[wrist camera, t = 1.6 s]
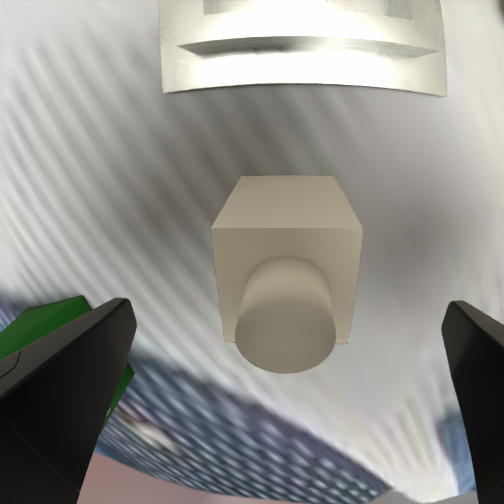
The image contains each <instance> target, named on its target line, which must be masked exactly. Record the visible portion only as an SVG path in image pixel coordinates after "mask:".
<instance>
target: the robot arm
mask: <svg viewBox="0 0 504 504" xmlns="http://www.w3.org/2000/svg"><path fill="white" fill-rule="evenodd" d="M136 328H137V322H136V318H135V315H134V312H133V308H132V305H131V302H130V300H129V299H127V298H114V299H112V300H110V301H108V302H106V303H104V304H103V305H101V306H99V307H97V308H95V309H93V310H91V311H89V312H88V313H86V314H84V315H82V316H80V317H78V318H77V319H75V320H73V321H71V322H69V323H67V324H65V325H64V326H62V327H60V328H58V329H56V330H55V331H53V332H51V333H49V334H47V335H45V336H44V337H42V338H40V339H38V340H36V341H35V342H33V343H31V344H29V345H27V346H26V347H24V348H23V349H20V350H18V351H17V352H15V353H13V354H11V355H9V356H7V357H6V358H4V359H2V360H0V504H77V500H78V497H79V494H80V490H81V487H82V484H83V481H84V478H85V475H86V472H87V469H88V466H89V463H90V460H91V457H92V454H93V451H94V449H95V446H96V443H97V440H98V437H99V435H100V432H101V429H102V426H103V424H104V421H105V418H106V416H107V413H108V410H109V408H110V405H111V403H112V400H113V397H114V395H115V392H116V390H117V387H118V385H119V382H120V380H121V377H122V375H123V372H124V369H125V366H126V362H127V359H128V356H129V352H130V349H131V345H132V342H133V339H134V335H135V332H136ZM441 331H442V336H443V341H444V345H445V349H446V354H447V359H448V364H449V369H450V373H451V377H452V381H453V385H454V388H455V392H456V395H457V399H458V402H459V406H460V410H461V414H462V418H463V422H464V426H465V430H466V435H467V439H468V444H469V448H470V453H471V459H472V464H473V470H474V475H475V482H476V488H477V496H478V502H479V504H504V325H503V324H501V323H499V322H498V321H496V320H495V319H493V318H491V317H490V316H488V315H486V314H485V313H483V312H482V311H480V310H478V309H477V308H475V307H473V306H472V305H470V304H468V303H467V302H465V301H462V300H460V301H451V302H450V303H449V305H448V308H447V311H446V314H445V317H444V320H443V323H442V328H441Z"/></svg>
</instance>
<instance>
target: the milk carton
mask: <svg viewBox="0 0 504 504" xmlns="http://www.w3.org/2000/svg"><path fill="white" fill-rule="evenodd" d="M89 311H91V309H90V307H89V306H88V304H87V302H86V301H85V299H84V297H83V296H79V297H75V298H71V299H68V300H64V301H60V302H56V303H52V304H48V305H44V306H40V307H36V308H32V309H28V310H25V311H24V312H23V313H22V314H21V315H20V316H19V317H17V318H16V319H15V320H14V321H13V322H12V323H11V324H10V325H9V326H7V327H6V328H5V329H4V330H3V331H2V332H1V333H0V360H2V359H4V358H6V357H7V356H9V355H11V354H13V353H15V352H17V351H18V350H20V349H23V348H24V347H26V346H27V345H29V344H31V343H33V342H35V341H36V340H38V339H40V338H42V337H44V336H45V335H47V334H49V333H51V332H53V331H55V330H56V329H58V328H60V327H62V326H64V325H65V324H67V323H69V322H71V321H73V320H75V319H77V318H78V317H80V316H82V315H84V314H86V313H88V312H89ZM133 375H134V372H133V371H132V370H131V368H130V367H129V366H128V364H127V363H126V366H125V369H124V372H123V375H122V377H121V380H120V382H119V385H118V387H117V390H116V392H115V395H114V397H113V400H112V403H111V405H110V408H109V410H108V413H107V416H106V418H105V421H104V424H103V426H102V429H101V432H100V435H101V433H102V431H103V429H104V427H105V425H106V423H107V421H108V420H109V418H110V416H111V414H112V412H113V411H114V409H115V407H116V405H117V404H118V402H119V400H120V398H121V396H122V395H123V393H124V391H125V389H126V388H127V386H128V384H129V382H130V381H131V379H132V377H133ZM100 435H99V437H100ZM99 437H98V439H99ZM97 441H98V440H97Z"/></svg>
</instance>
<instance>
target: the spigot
mask: <svg viewBox="0 0 504 504" xmlns="http://www.w3.org/2000/svg"><path fill="white" fill-rule="evenodd" d="M211 235H212V244H213V253H214V262H215V271H216V279H217V287H218V296H219V304H220V311H221V319H222V327H223V334H224V341H225V342H228V343H236V345H237V348H238V349H239V351H240V353H241V354H242V355H243V357H244V358H245V359H246V360H248V361H249V362H250V363H251V364H253V365H255V366H256V367H259V368H261V369H263V370H266V371H270V372H275V373H297V372H302V371H305V370H308V369H311V368H313V367H315V366H317V365H318V364H320V363H321V362H323V361H324V360H325V359H326V358H327V357H328V356H329V355H330V353H331V352H332V350H333V348H334V346H335V344H347V343H348V337H349V332H350V326H351V320H352V314H353V307H354V301H355V294H356V287H357V279H358V272H359V263H360V255H361V246H362V236H363V227H362V225H361V223H360V222H359V220H358V218H357V216H356V214H355V212H354V211H353V209H352V207H351V205H350V203H349V202H348V200H347V198H346V196H345V195H344V193H343V191H342V189H341V188H340V186H339V184H338V183H337V181H336V179H335V178H334V176H316V175H273V176H241V178H240V179H239V181H238V183H237V184H236V186H235V188H234V189H233V191H232V193H231V194H230V196H229V198H228V200H227V201H226V203H225V205H224V206H223V208H222V210H221V211H220V213H219V215H218V217H217V218H216V220H215V222H214V224H213V225H212V227H211Z"/></svg>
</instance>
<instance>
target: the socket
mask: <svg viewBox="0 0 504 504" xmlns="http://www.w3.org/2000/svg"><path fill="white" fill-rule="evenodd" d="M159 29H160V54H161V72H162V88H163V93H172V92H179V91H186V90H195V89H204V88H214V87H225V86H238V85H256V84H336V85H354V86H367V87H378V88H388V89H396V90H404V91H411V92H418V93H425V94H431V95H437V96H447V75H446V54H445V41H444V30H443V21H442V13H441V5H440V0H159Z"/></svg>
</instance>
